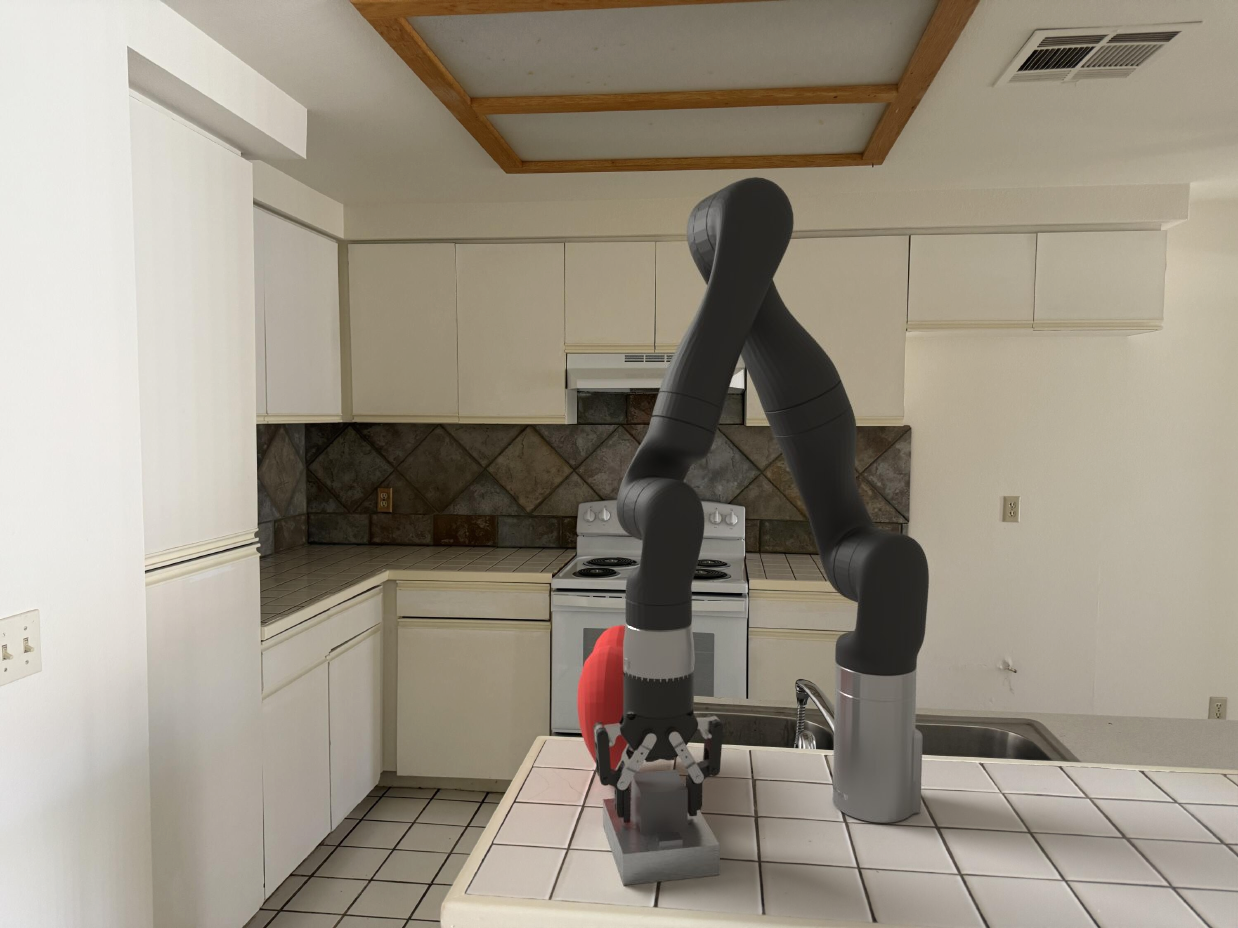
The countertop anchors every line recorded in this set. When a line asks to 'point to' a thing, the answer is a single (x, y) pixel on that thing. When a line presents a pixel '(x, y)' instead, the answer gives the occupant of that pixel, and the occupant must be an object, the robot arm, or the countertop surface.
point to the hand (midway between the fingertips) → (658, 815)
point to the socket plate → (660, 849)
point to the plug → (659, 802)
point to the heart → (603, 691)
